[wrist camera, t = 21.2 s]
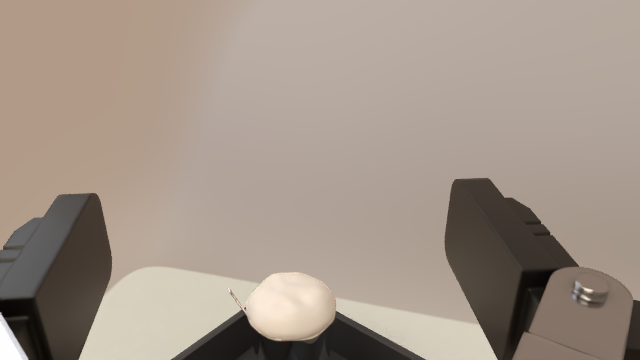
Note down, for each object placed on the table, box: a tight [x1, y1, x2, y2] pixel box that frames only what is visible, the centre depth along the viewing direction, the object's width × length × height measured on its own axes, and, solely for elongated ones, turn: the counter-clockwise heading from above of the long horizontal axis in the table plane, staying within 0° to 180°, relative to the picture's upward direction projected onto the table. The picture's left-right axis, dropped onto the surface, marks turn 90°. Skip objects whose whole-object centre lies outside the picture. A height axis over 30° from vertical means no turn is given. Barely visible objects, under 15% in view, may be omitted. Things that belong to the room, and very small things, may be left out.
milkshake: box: [228, 272, 336, 360], centre depth 29 cm, size 4×5×10 cm
